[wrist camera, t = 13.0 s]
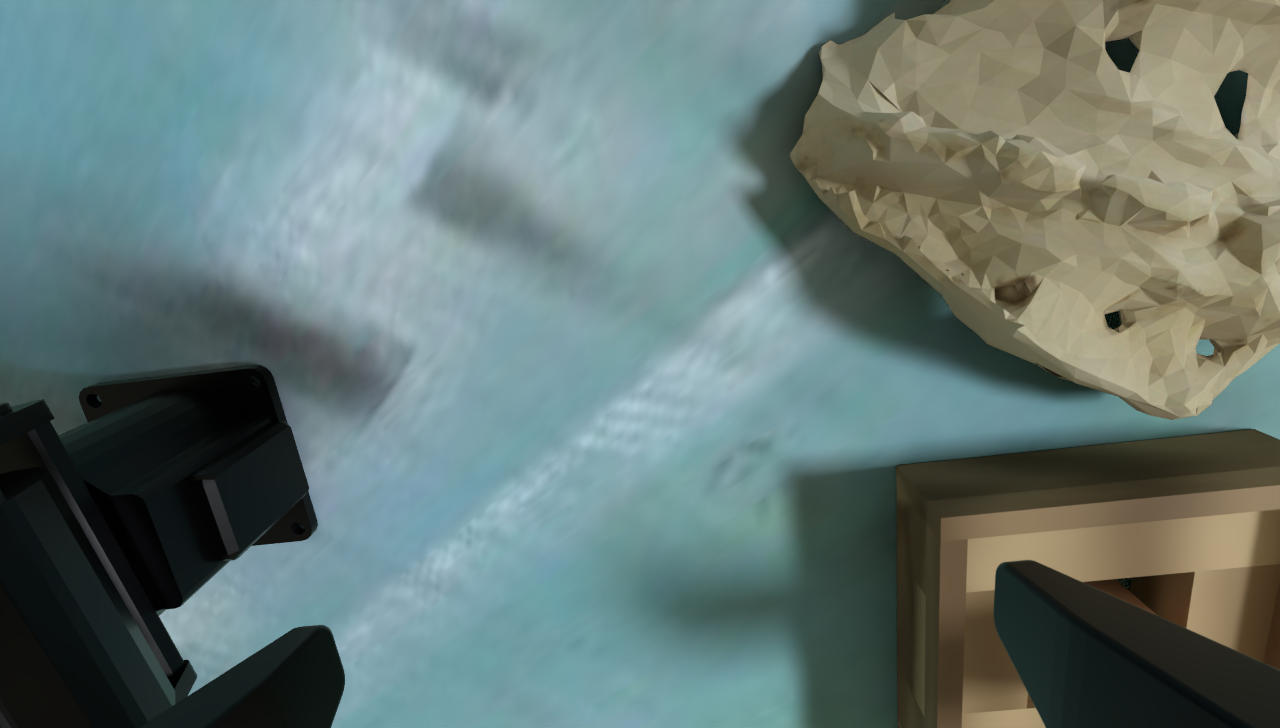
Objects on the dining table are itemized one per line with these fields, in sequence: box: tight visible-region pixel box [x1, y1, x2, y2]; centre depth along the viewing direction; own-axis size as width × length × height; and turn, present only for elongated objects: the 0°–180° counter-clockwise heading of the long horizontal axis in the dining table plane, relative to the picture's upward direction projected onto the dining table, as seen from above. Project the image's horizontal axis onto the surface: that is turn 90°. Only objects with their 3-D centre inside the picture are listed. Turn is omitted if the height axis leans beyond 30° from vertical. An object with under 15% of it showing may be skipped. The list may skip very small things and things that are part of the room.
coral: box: [790, 0, 1280, 420], centre depth 17 cm, size 15×12×5 cm
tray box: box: [896, 429, 1280, 728], centre depth 22 cm, size 12×12×4 cm
